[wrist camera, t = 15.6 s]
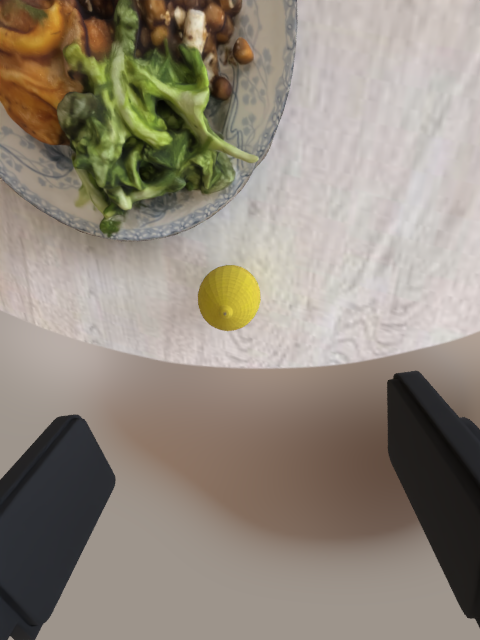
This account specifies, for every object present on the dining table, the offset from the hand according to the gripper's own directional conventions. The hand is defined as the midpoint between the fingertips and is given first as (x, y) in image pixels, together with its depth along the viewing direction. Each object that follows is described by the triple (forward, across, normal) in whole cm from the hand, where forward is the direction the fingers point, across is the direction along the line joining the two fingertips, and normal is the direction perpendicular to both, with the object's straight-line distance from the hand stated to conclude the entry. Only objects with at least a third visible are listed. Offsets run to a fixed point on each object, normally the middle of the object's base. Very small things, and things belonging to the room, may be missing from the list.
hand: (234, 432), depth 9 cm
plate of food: (+22, +8, -18) cm, 30 cm away
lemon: (+22, +2, +2) cm, 22 cm away
